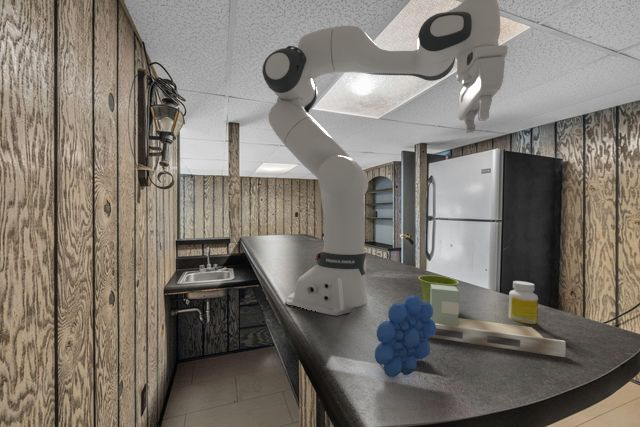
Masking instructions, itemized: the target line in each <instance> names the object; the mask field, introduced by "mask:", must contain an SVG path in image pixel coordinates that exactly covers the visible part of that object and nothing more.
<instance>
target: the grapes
mask: <svg viewBox="0 0 640 427" xmlns="http://www.w3.org/2000/svg"><path fill="white" fill-rule="evenodd" d="M387 314H388V315H387V316H388V318H389V320H385V321H383V322H381V323H380V324H379V325H378V326H377V329H376V338H377V340H378V342H380V343H379V344H378V345H377V346H376V347H375V350H374V358H375V359H374V360H375V361H376V363H377V364H379V365H380V366H381V365H382V366H383V371H384V374H385V375H386V376H387V377H389V378H395V377H397V376H398V375H400V373H401V374H402V375H406V376H407V375H411V374H413V373H414V372H415V370H416V369H417V367H418V360H423V359H425V358H427V357H428V356H429V355H430V352H431V347H430V346H431V344H430V343H429V341H428V339H432V337H433V336H434V335H435V333H436V324H435V322H434V321H433V320H432V319H430V318H431V317H432V315H433V308H432V306H431V304H430V303H428V302H423V301H422V300H421V298H420V297H419V296H418V295H416V294H415V295H409V296H407V298H406V299H405V300H404V302H395V303H393V304H392V305H391V306H390V307H389V310H388V313H387Z"/></svg>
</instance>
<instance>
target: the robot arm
mask: <svg viewBox="0 0 640 427" xmlns="http://www.w3.org/2000/svg"><path fill="white" fill-rule="evenodd" d="M500 13H501V12H500V7H499V2H498V0H463V1H462V2H461V3H460V4H459V5H457V6H456V7H454V8H452V9H450V10H447V11H445V12H444V11H443V12H438V13H436V14H434V15H431V16H429V18H427V19H426V20H425V21H424V22H423V23H422V25H421V26H420V29H419V31H418V37H417V38H418V39H417V49H415V50H386V49H384V48H381V47H380V46H378V45H377V44H376V43H375V41H373V40H372V39H371V37H369V35H368V33H366V32H365V30H363V29H362V28H361V27H359V26H354V25H341V26H340V25H339V26H333V27H327V28H322V29H317V30H315V31H312V32H309V33H306V34H305V35H303V36H302V37H301V38H300V39H299V42H298V44H297V46H293V45H288V46H286V47H285V48H280V49H277V50H275V51H273V52H271V53H270V54H269V55H268V56H267V57H266V59H264V62H263V64H262V70H261V71H262V72H261V73H262V76H263V79H264V81H265V83H266V85H267V87H268V88H269V89H270V90H271V91H272V92H274V94H275V95H276V96H277V100H276V102H275V103H274V104H273V105H272V107H271V109H269V110H270V111H269V112H268V122H269V124H270V125H269V126H270V127H271V128H272V130H273V131H274V133H275V135H276V136H277V137H278V139H279V140H280V141H281V142H282V144H283V145H284V146H285V147H286V149H288V150H289V151H290V152H291V154H292V155H293V156H294V157H295V158H296V159H297V161H298V162H299V163H301V164H302V165H303V167H304V168H306V170H308V171H309V172H310V173H311V174H312V175H313V176H314V177H316V178H317V182H318V184H319V185H318V186H319V190H320V199H321V207H322V215H323V250H321V251H319V253H317V254H316V255H315V258H314V260H316V264H315V265H314V266H312V267H311V268H310V269H309V270H307V271H306V272H305V273H304V274H302V275H301V276H299V278H298V279H297V281H296V284H295V287H294V292H291V293H290V294H289V295H288V296H287V297H286V299H285V304H286V303H288V304H291V305H294V306H297V307H301V308H300V309H302V308H304V309H303V310H306V309H307V311H311V310H312V311H311V312H315V311H316V313H321V314H325V315H329V316H337V317H338V316H341V315H344V314H350V313H351V312H352V310H353V308H357V307H362V306H364V305H366V304H368V302H369V300H368V299H369V298H368V294H367V288H366V279H365V278H366V277H365V275H366V272H367V257H366V256H367V254H366V252H365V240H366V238H365V234H366V222H365V221H366V220H365V211H364V210H365V209H364V208H365V206H364V196H365V195H366V193H367V191H368V188H369V177H368V175H367V173H366V172H365V170H363V168H362V167H361V165H360V164H359V163H358V162H357V161H356V160H355V159H354V158H352V157H351V156H350V155H349V154H348V153H347V152H346V151H345V150H344V149H343V148H342V147H341V146H340V145H339V143H337V141H336V140H334V138H333V137H332V136H331V135H330V134H329V133H328V132H327V131H326V130H325V129H324V128H323V127H322V126H321V125H320V123H318V122H317V121H316V119H314V118H313V117H312V116H311V115H310V114H309V112H310V110H311V109H312V108H313V106H314V105H315V104H316V101H317V99H318V89H317V84H316V82H315V81H314V80H315V79H317V78H318V77H320V76H323V75H325V74H349V73H351V74H352V73H353V74H357V73H358V74H367V75H374V76H375V75H376V76H410V77H411V76H412V77H416V78H420V79H422V80H424V81H428V82H429V81H431V82H432V81H439V80H441V79H443V78H445V77H446V76H447V75H448V74H449V73H450V72H451V71H452V70H453V68H454V66H455V63H456V62H457V63H456V81H457V82H459V83H460V84H462V87H463V88H462V89H461V91H460V94H459V102H458V115H457V116H458V120H459V121H464V125H465V132H466V133H465V134H473V133H474V132H475V131H476V124H475V119H476V116H477V120H478V121H479V122H486V121H487V120H488V119H489V118H490V109H491V105H492V102H493V97H494V96H495V95H496V94H497V93H498V92H499V90H501V88H502V85H503V82H504V78H505V77H504V74H505V66H506V65H505V62H506V61H505V60H506V56H507V55H508V45H505V44H504V45H502V44H501V45H500V44H499V38H500V36H501V35H500V34H501V14H500ZM456 60H457V61H456ZM297 307H296V308H297Z"/></svg>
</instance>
